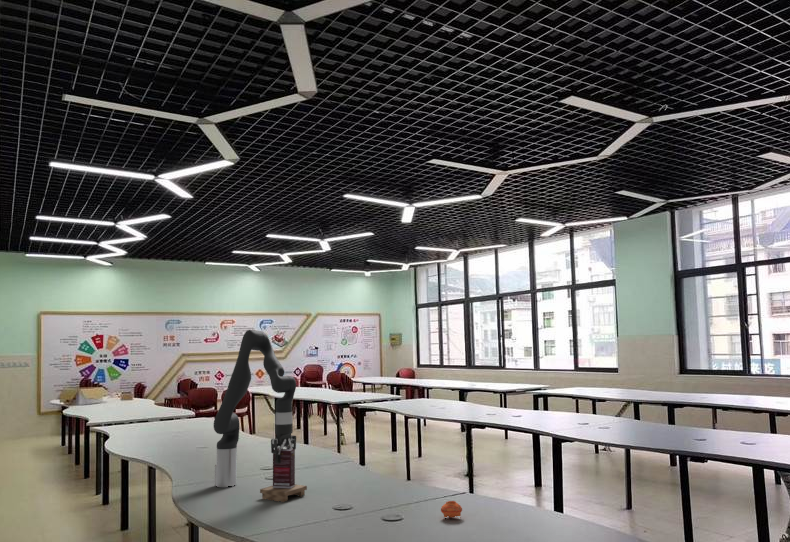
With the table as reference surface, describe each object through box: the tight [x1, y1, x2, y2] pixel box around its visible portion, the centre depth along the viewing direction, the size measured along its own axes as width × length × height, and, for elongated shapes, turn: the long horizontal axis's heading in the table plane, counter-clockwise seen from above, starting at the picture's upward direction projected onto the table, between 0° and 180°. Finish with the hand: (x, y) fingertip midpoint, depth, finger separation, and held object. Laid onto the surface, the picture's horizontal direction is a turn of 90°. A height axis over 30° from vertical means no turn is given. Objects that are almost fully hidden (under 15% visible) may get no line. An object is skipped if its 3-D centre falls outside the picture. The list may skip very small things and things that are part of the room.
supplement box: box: [272, 448, 296, 489], centre depth 269 cm, size 9×5×16 cm, turn 76°
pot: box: [440, 500, 463, 518], centre depth 230 cm, size 8×8×7 cm
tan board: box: [259, 484, 308, 503], centre depth 268 cm, size 14×14×4 cm
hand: (283, 461), depth 270 cm, fingers open, 6 cm apart
